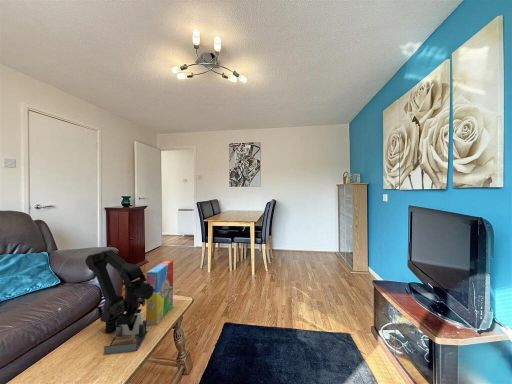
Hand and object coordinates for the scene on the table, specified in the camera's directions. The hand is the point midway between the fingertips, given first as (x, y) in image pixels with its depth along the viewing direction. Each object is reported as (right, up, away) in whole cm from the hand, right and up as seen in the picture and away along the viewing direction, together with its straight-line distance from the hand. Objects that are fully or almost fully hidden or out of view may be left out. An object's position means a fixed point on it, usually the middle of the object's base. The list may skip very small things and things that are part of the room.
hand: (131, 329), depth 103 cm
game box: (+6, -4, +17) cm, 19 cm away
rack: (+1, -3, -4) cm, 5 cm away
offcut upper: (+2, 0, -9) cm, 9 cm away
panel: (0, -2, 0) cm, 2 cm away
